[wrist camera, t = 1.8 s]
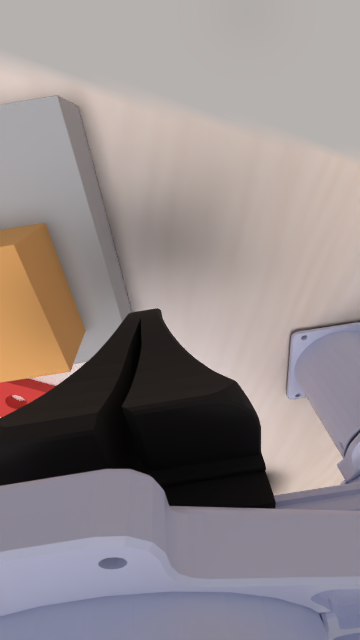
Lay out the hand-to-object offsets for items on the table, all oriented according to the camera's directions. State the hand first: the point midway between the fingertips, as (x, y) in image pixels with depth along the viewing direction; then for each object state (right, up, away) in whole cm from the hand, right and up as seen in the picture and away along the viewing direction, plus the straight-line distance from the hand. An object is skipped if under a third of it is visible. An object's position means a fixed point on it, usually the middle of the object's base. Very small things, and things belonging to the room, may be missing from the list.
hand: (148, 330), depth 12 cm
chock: (-8, +2, +5) cm, 10 cm away
